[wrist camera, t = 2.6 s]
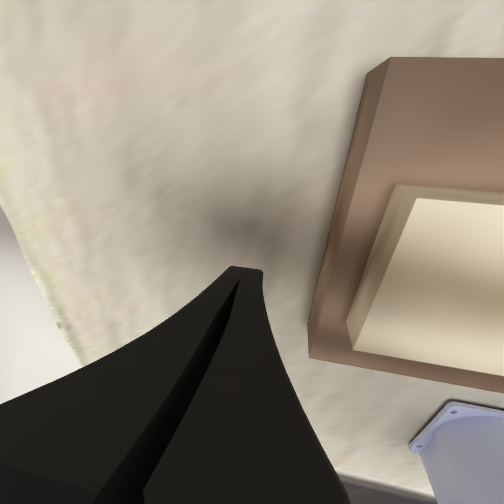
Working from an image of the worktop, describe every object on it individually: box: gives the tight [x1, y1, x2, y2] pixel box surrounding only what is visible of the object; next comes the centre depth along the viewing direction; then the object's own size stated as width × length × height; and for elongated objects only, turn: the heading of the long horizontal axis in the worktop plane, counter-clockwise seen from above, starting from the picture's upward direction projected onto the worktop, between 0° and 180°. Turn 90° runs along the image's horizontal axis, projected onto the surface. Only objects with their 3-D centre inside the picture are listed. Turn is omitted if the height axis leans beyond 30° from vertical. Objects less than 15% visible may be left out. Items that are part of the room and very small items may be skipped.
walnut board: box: [307, 57, 504, 393], centre depth 12 cm, size 16×12×3 cm
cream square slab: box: [346, 184, 504, 376], centre depth 10 cm, size 8×8×2 cm
